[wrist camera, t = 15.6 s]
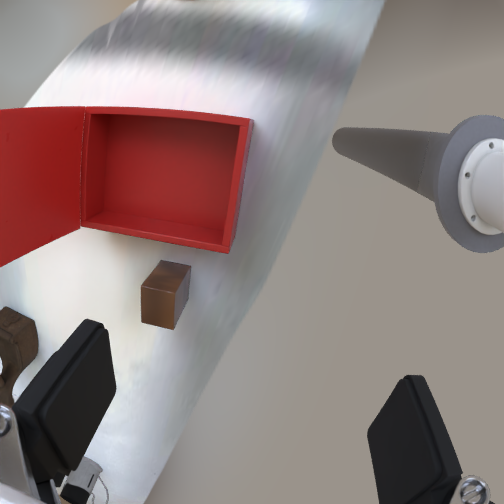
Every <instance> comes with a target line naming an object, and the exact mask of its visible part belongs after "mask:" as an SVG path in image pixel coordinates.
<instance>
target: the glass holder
mask: <svg viewBox="0 0 504 504" xmlns="http://www.w3.org/2000/svg"><path fill="white" fill-rule="evenodd" d="M102 471H103V470H102V468H101V467H100V466H99V465H98V464H97V463H95V462H94V461H92V460H90V459H88V458H86V457H83V458H82V460H81V462H80V464H79V466H78V468H77V470H76V471H72V470H71V472H70V474H69V476H68V478H67V480H66V482H65V484H64V486H63V490H62V492H61V494H60V496H61V497H62V498H63V499H65V500H66V501H68V502H69V503H71V504H86V503H87V500H88V498H89V496H90V495H91V494H93V493H92V490H93V488H94V485H95V483H96V481H97V478H98V477H99V474H100V473H101V472H102ZM99 479H100V481H101V482H102V483H103V481H102V480H101V478H100V477H99ZM103 485H104V483H103ZM104 487H105V489H106V492H107V501H106V504H108V500H109V494H108V490H107V488H106V486H105V485H104ZM94 498H95V495H94V494H93V498H92V504H94Z"/></svg>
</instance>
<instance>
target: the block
mask: <svg viewBox="0 0 504 504" xmlns="http://www.w3.org/2000/svg"><path fill="white" fill-rule="evenodd" d="M190 272H191V266H188V265H183V264H178V263H173V262H168V261H163V260H161V261H160V262H159V264H158V265H157V266H156V267H155V269H154V270H153V271H152V272H151V274H150V275H149V276H148V277H147V279H146V280H145V281H144V282H143V284H142V285H141V322H142V323H146V324H150V325H154V326H158V327H162V328H167V329H171V330H174V328H175V326H176V324H177V322H178V320H179V317H180V315H181V313H182V311H183V309H184V307H185V305H186V303H187V301H188V296H189V283H190Z"/></svg>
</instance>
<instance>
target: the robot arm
mask: <svg viewBox="0 0 504 504" xmlns="http://www.w3.org/2000/svg"><path fill="white" fill-rule="evenodd" d="M458 199H459V205H460V208H461V211H462V213H463V215H464V217H465V219H466V221H467V222H468V223H469V224H470V225H471V226H472V227H473V228H474V229H476V230H477V231H479V232H481V233H483V234H486V235H496V234H500V233H502V232H503V233H504V140H502V139H497V138H488V139H485V140H482V141H480V142H478V143H477V144H475V145H474V146H473V147H472V148H471V149H470V151H469V152H468V154H467V155H466V157H465V159H464V161H463V163H462V165H461V169H460V173H459V178H458ZM115 393H116V381H115V375H114V369H113V363H112V356H111V349H110V341H109V333H108V330H107V329H104V325H103V324H102V323H99V322H96V321H93V320H89V319H85V320H84V321H83V322H82V323H81V324H80V325H79V326H78V327H77V329H76V330H75V331H74V332H73V333H72V335H71V336H70V337H69V338H68V339H67V341H66V342H65V343H64V344H63V345H62V347H61V348H60V349H59V350H58V351H56V352H55V353H54V354H53V355H52V356H51V357H50V358H49V360H48V361H47V362H46V363H45V365H44V366H43V367H42V368H41V370H40V371H39V372H38V373H37V375H36V376H35V377H34V378H33V380H32V381H31V382H30V384H29V385H28V386H27V388H26V389H25V390H24V391H23V393H22V394H21V395H20V397H19V398H18V399H17V401H16V402H15V403H14V405H13V406H12V408H10V407H9V406H7V405H6V404H2V403H0V504H61V502H60V499H59V496H58V493H57V490H56V487H55V484H54V481H53V478H54V477H55V475H56V473H57V471H58V472H60V473H62V474H64V475H66V476H69V474H70V472H71V470H72V471H76V470H77V468H78V466H79V464H80V462H81V460H82V458H83V456H84V454H85V452H86V450H87V448H88V446H89V444H90V442H91V440H92V438H93V436H94V434H95V432H96V430H97V428H98V426H99V424H100V422H101V421H102V419H103V417H104V415H105V413H106V411H107V409H108V407H109V405H110V403H111V401H112V400H113V398H114V396H115ZM367 438H368V443H369V448H370V453H371V458H372V464H373V469H374V475H375V479H376V486H377V492H378V498H379V504H495V503H493V502H491V501H490V489H489V487H488V485H487V483H486V482H485V481H484V480H483V479H481V478H480V477H478V476H475V475H469V476H466V477H464V478H463V479H462V478H461V474H462V473H463V472H462V469H461V467H460V464H459V461H458V458H457V455H456V453H455V450H454V447H453V445H452V442H451V440H450V437H449V434H448V432H447V429H446V427H445V424H444V422H443V419H442V417H441V415H440V412H439V410H438V407H437V405H436V403H435V400H434V398H433V396H432V394H431V391H430V389H429V387H428V385H427V382H426V380H425V378H424V377H423V376H421V375H406V376H405V377H404V378H403V379H401V380H399V382H398V383H397V385H396V387H395V388H394V390H393V392H392V393H391V395H390V396H389V398H388V400H387V401H386V403H385V404H384V406H383V408H382V409H381V411H380V412H379V414H378V415H377V417H376V418H375V420H374V421H373V422H372V424H371V426H370V427H369V429H368V433H367Z"/></svg>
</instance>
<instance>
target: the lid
mask: <svg viewBox="0 0 504 504" xmlns="http://www.w3.org/2000/svg"><path fill="white" fill-rule="evenodd" d="M84 116H85V106H60V107H30V108H14V109H2V110H0V267H2V266H4V265H6V264H8V263H10V262H12V261H13V260H15V259H17V258H19V257H21V256H23V255H25V254H27V253H29V252H31V251H33V250H35V249H37V248H39V247H41V246H43V245H45V244H48V243H50V242H52V241H54V240H56V239H58V238H60V237H62V236H65V235H67V234H69V233H71V232H73V231H75V230H78V229H80V172H81V152H82V137H83V126H84Z"/></svg>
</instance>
